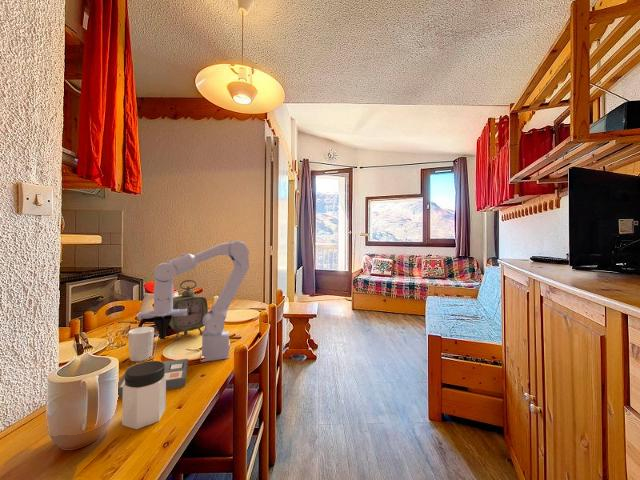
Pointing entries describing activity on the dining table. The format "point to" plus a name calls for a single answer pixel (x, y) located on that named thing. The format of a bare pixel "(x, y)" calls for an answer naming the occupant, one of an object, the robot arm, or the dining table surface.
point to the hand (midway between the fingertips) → (162, 338)
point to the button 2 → (176, 366)
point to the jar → (144, 394)
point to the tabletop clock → (189, 311)
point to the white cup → (141, 343)
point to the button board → (173, 377)
